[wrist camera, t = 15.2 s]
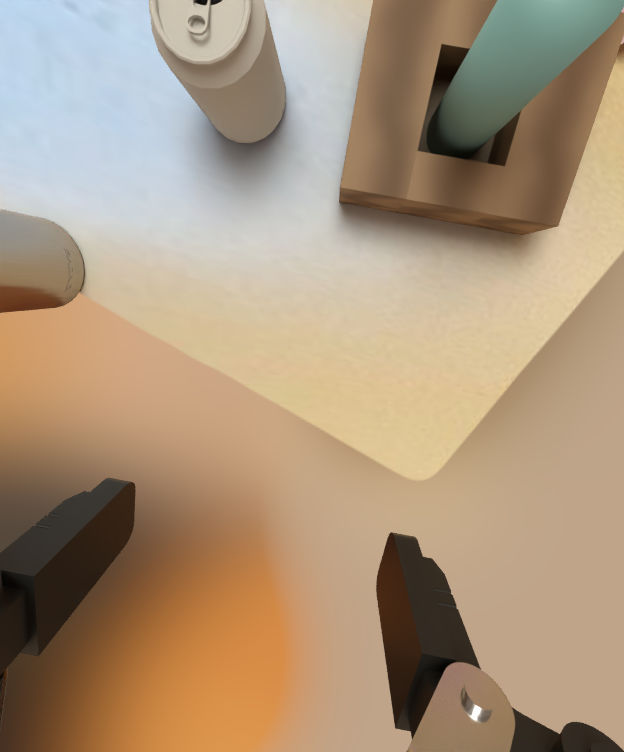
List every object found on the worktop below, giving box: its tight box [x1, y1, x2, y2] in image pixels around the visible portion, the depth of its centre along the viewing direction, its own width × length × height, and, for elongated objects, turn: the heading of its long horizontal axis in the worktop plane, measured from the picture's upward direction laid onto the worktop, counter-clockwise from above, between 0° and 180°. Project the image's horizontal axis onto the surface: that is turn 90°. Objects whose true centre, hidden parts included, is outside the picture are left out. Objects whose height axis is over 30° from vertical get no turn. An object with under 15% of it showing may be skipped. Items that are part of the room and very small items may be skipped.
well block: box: [339, 0, 624, 235], centre depth 29 cm, size 18×14×6 cm
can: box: [149, 0, 286, 143], centre depth 26 cm, size 8×8×12 cm
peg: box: [426, 0, 624, 160], centre depth 23 cm, size 5×5×16 cm
